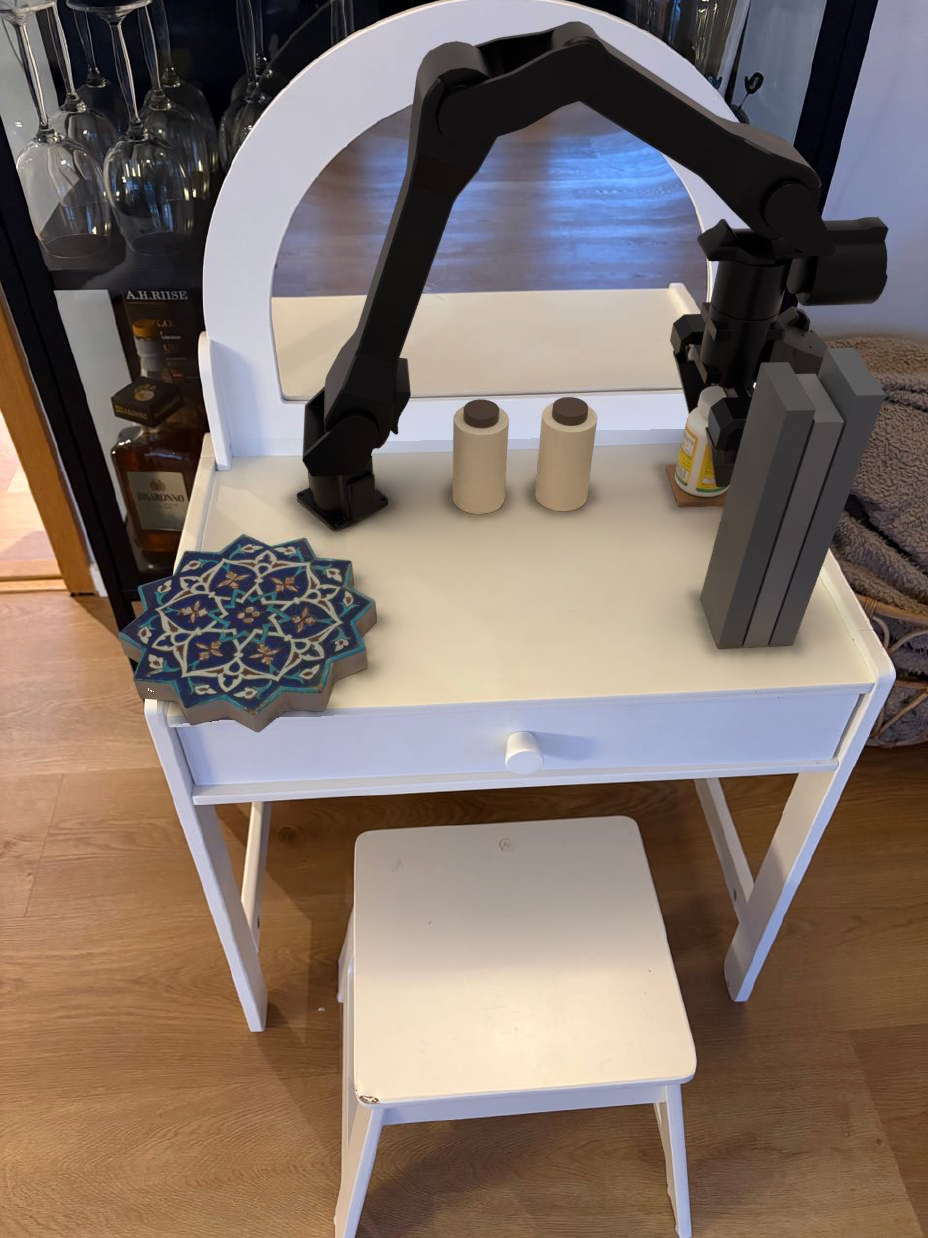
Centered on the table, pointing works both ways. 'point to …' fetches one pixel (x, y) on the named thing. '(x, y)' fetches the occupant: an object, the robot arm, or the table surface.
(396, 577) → the table surface
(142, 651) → the decorative tile
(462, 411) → the cream bottle
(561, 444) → the cream bottle
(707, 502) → the oak coaster
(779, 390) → the grey grooved column
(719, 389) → the supplement bottle
